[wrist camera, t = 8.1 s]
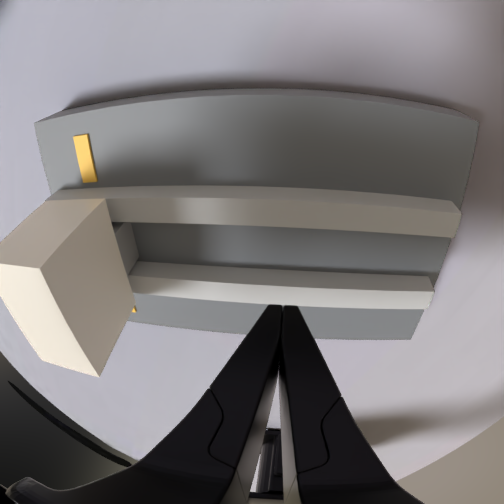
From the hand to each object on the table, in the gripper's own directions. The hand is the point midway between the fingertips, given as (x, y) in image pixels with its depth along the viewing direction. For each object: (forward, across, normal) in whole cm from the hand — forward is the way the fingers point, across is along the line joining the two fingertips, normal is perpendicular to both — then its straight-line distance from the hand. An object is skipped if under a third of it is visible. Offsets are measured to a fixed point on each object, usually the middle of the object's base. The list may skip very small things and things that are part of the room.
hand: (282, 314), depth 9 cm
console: (+6, +2, 0) cm, 6 cm away
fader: (+4, +8, 0) cm, 9 cm away
